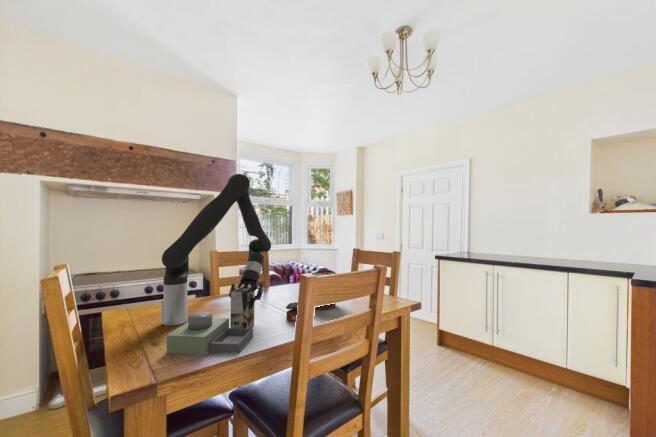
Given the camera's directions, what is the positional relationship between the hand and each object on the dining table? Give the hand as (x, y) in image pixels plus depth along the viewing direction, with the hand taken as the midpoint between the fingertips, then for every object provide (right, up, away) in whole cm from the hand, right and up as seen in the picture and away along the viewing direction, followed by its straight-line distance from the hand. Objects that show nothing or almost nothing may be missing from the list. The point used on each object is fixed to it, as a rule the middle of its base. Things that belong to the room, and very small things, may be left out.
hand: (241, 307), depth 116 cm
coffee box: (0, -9, +1) cm, 9 cm away
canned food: (+21, -9, +14) cm, 27 cm away
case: (+33, -9, +31) cm, 46 cm away
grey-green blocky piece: (-6, -9, -13) cm, 17 cm away
